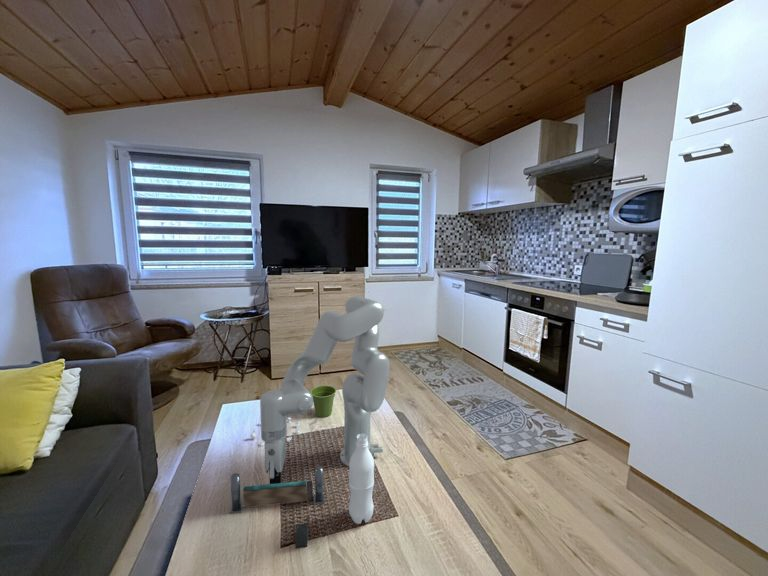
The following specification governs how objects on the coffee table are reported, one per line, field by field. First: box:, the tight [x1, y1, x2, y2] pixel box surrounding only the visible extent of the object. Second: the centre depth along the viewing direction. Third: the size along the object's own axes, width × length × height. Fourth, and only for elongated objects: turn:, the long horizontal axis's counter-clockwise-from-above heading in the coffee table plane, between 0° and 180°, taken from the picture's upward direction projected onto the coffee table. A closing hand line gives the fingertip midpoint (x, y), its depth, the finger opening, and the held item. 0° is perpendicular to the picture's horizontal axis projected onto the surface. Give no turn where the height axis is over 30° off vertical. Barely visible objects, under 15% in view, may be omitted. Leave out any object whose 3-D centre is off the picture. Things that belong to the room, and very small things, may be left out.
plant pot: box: [309, 384, 337, 418], centre depth 150 cm, size 12×12×11 cm
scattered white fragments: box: [250, 417, 301, 447], centre depth 135 cm, size 19×20×4 cm
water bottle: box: [348, 434, 375, 525], centre depth 93 cm, size 7×7×25 cm
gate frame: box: [228, 465, 326, 549], centre depth 91 cm, size 27×17×11 cm, turn 99°
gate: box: [242, 479, 314, 508], centre depth 98 cm, size 20×2×6 cm, turn 99°
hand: (275, 484), depth 103 cm, fingers closed
